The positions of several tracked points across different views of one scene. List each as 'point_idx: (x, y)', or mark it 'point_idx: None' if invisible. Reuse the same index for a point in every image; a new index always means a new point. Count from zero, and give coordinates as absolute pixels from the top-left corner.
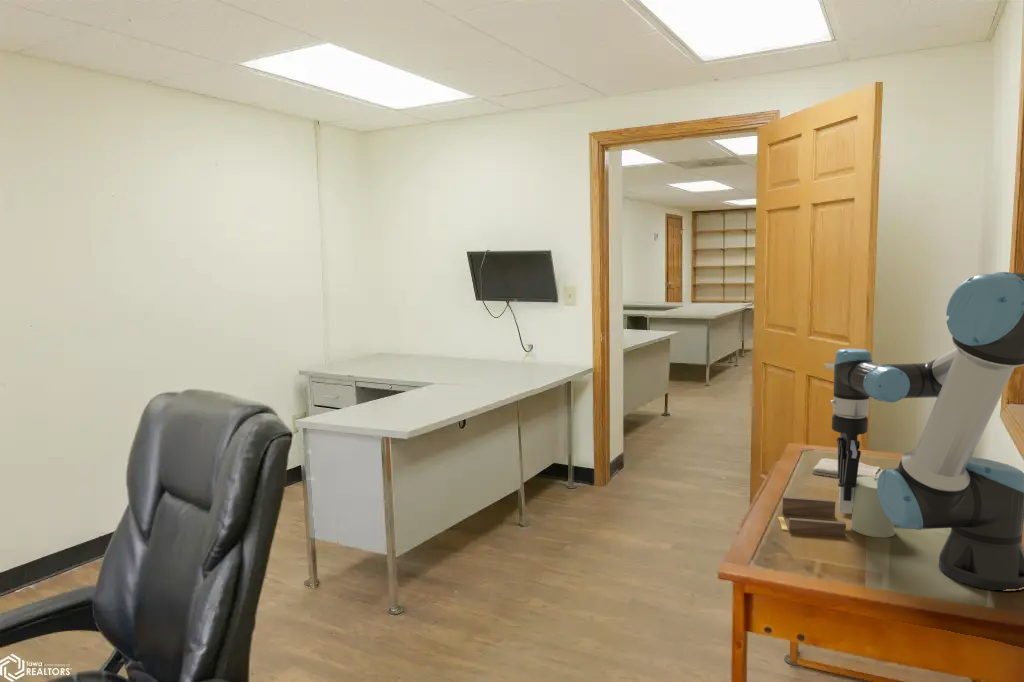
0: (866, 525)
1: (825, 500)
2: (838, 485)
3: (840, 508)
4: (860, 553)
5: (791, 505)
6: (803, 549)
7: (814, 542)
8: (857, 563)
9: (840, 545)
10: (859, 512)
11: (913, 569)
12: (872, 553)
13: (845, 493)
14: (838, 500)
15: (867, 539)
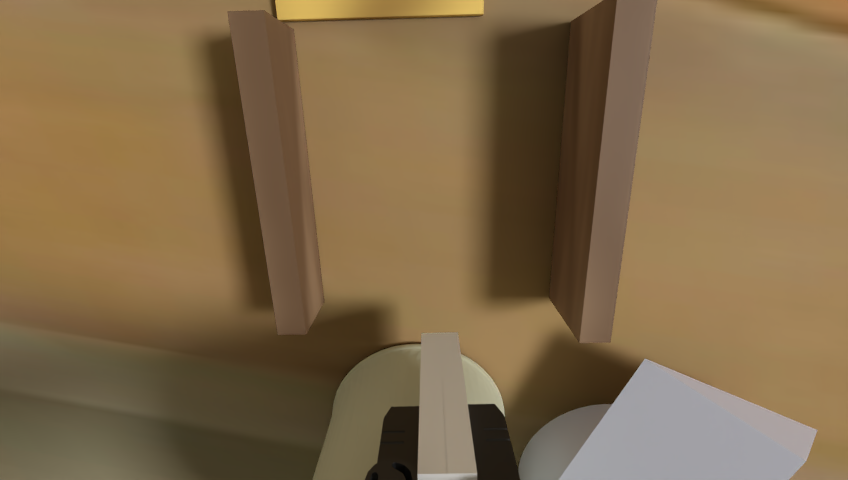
0: (335, 415)
1: (596, 291)
2: (403, 463)
3: (421, 351)
4: (127, 327)
5: (587, 69)
6: (42, 82)
7: (167, 152)
8: (8, 297)
9: (182, 264)
10: (348, 434)
11: (63, 462)
12: (150, 369)
13: (378, 456)
14: (646, 360)
15: (301, 379)
